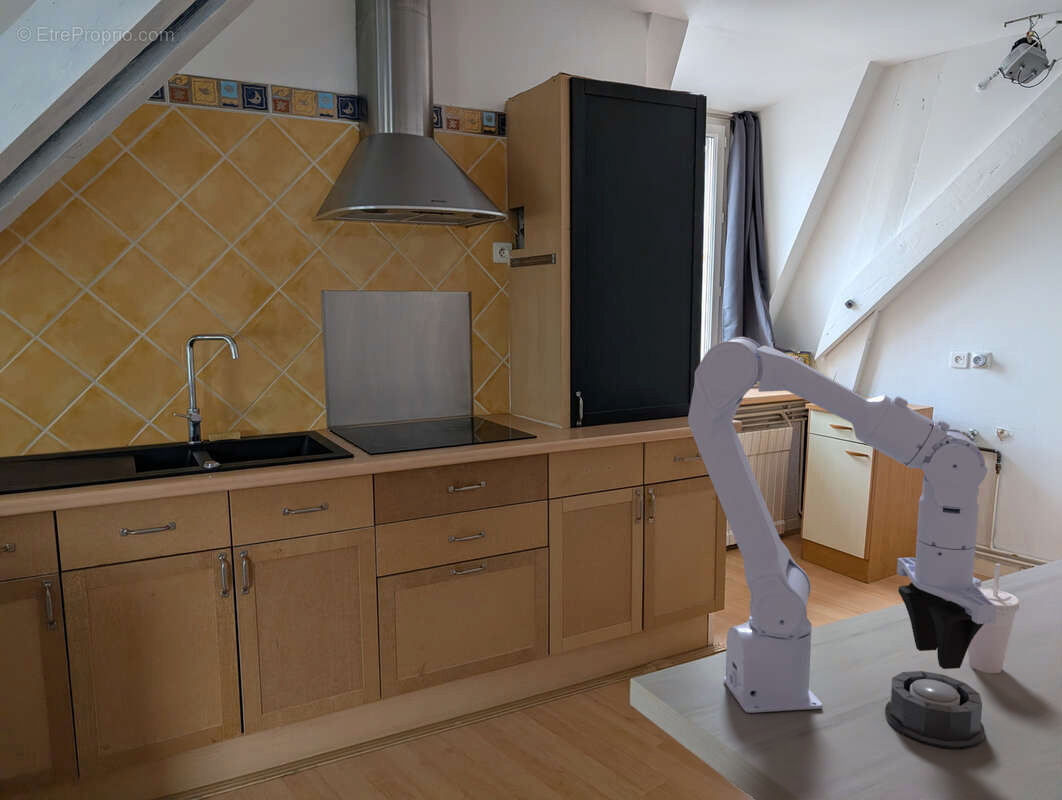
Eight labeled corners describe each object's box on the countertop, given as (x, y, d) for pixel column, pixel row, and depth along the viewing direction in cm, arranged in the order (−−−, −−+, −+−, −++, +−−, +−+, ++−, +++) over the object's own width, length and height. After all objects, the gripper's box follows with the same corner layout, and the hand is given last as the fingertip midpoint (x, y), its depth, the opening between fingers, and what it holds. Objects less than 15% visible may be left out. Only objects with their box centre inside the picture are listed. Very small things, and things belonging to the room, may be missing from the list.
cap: (926, 732, 84) (928, 702, 83) (899, 708, 88) (901, 679, 88) (968, 728, 84) (970, 699, 84) (938, 705, 89) (940, 677, 89)
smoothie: (1022, 680, 96) (1031, 574, 94) (967, 676, 97) (975, 571, 95) (1002, 657, 102) (1010, 557, 100) (950, 653, 103) (957, 554, 101)
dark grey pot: (917, 752, 81) (920, 717, 80) (868, 702, 91) (869, 671, 90) (1005, 746, 82) (1008, 711, 81) (946, 698, 92) (949, 667, 91)
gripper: (1028, 562, 77) (1017, 688, 78) (939, 521, 91) (931, 628, 93) (962, 565, 76) (953, 692, 78) (883, 523, 90) (876, 631, 92)
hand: (937, 658), depth 85 cm, fingers open, 4 cm apart
